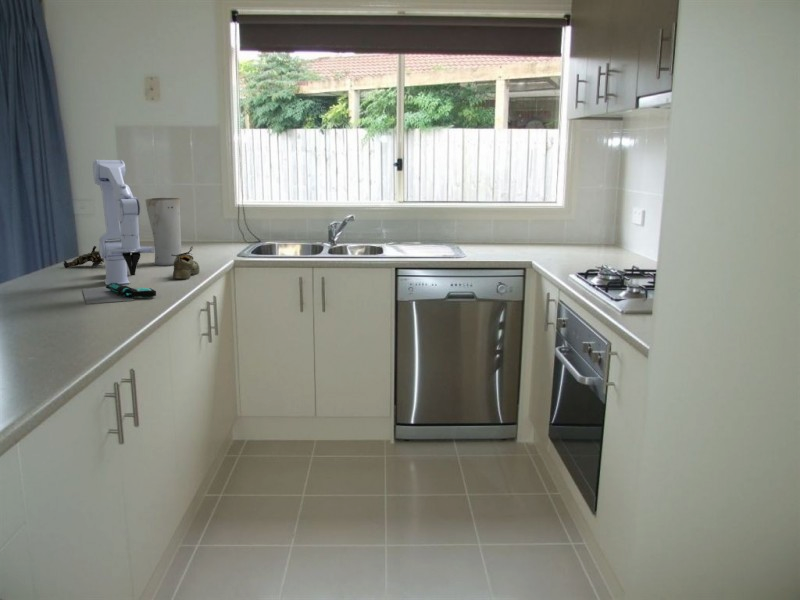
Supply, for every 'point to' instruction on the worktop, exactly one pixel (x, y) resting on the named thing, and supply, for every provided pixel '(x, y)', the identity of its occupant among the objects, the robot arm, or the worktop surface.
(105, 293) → the mat
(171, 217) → the vase
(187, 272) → the hiking shoe
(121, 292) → the toy gun
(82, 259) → the figurine
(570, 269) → the worktop surface
